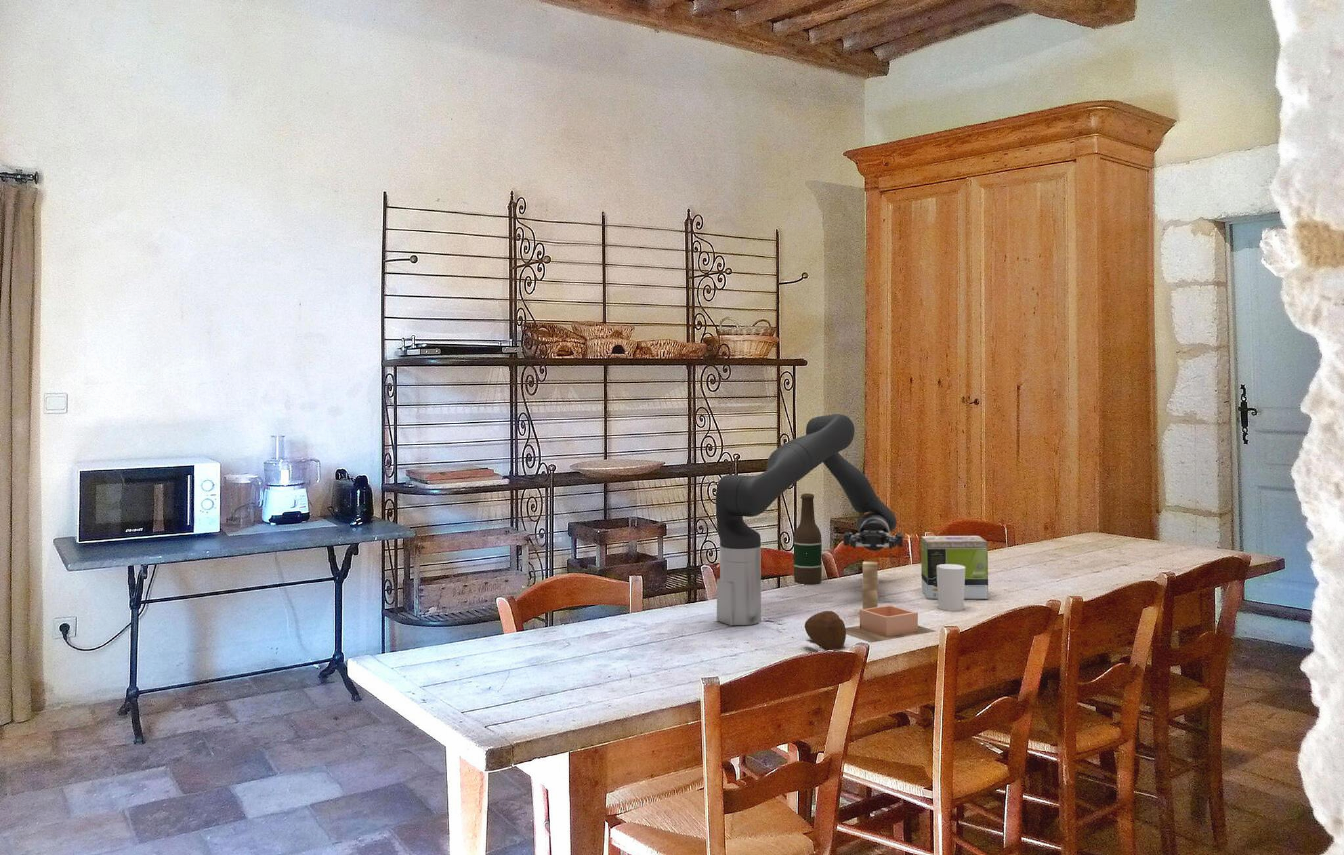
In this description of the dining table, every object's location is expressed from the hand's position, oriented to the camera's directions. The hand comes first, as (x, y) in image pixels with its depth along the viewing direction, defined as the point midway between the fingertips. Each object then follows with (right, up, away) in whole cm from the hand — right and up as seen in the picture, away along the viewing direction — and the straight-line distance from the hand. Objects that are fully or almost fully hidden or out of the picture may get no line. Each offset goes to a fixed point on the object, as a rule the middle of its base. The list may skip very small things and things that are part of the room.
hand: (872, 544), depth 237 cm
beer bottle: (-11, -14, +33) cm, 38 cm away
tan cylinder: (-3, -16, -10) cm, 19 cm away
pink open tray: (-1, -15, -25) cm, 29 cm away
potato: (-16, -17, -35) cm, 42 cm away
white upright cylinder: (+19, -15, 0) cm, 24 cm away
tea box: (+24, -15, +15) cm, 31 cm away
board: (-2, -17, -25) cm, 30 cm away
